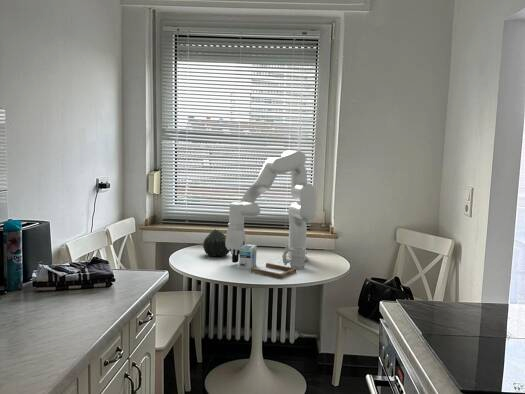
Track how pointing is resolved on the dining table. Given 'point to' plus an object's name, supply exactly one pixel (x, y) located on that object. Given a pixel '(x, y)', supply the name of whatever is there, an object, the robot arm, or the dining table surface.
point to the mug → (295, 257)
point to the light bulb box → (247, 256)
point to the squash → (215, 244)
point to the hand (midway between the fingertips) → (235, 262)
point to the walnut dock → (272, 274)
